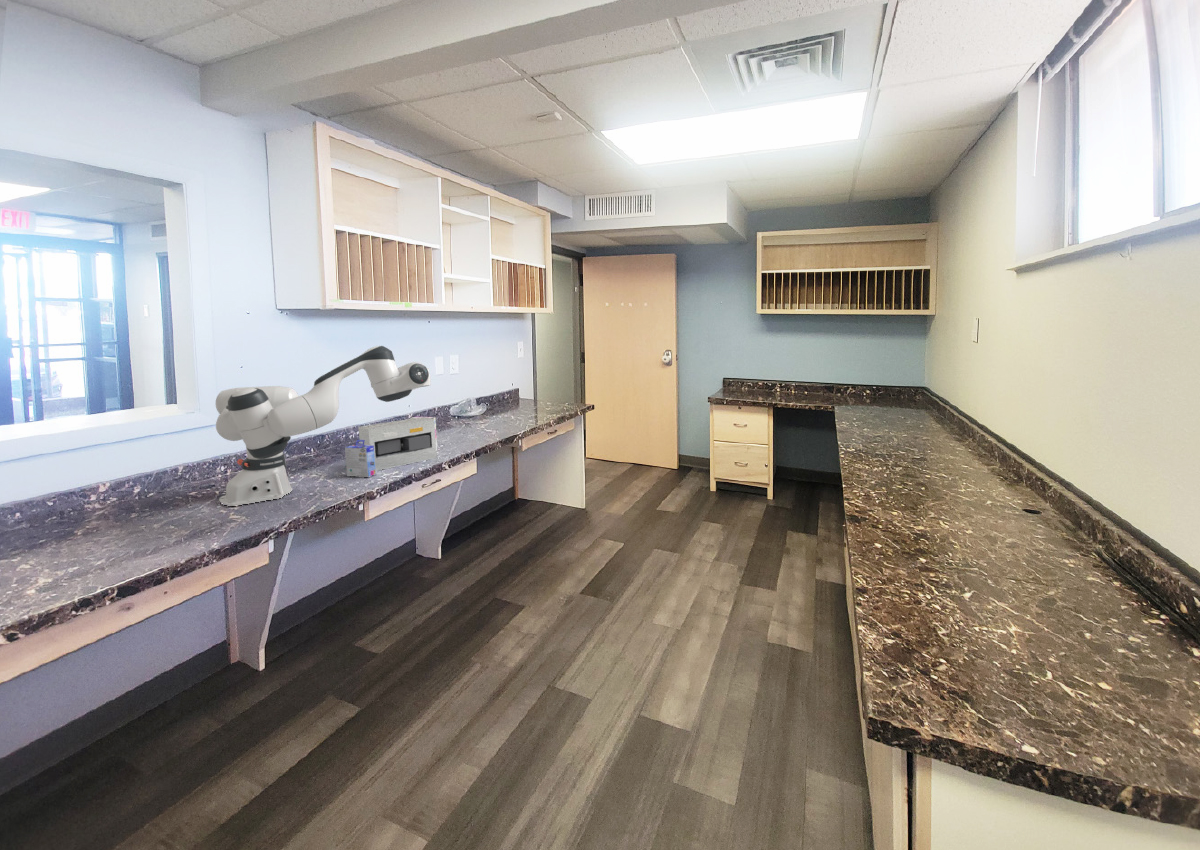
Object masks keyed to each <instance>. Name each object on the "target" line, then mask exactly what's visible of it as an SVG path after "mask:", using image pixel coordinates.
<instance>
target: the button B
mask: <svg viewBox="0 0 1200 850" xmlns="http://www.w3.org/2000/svg"><path fill="white" fill-rule="evenodd" d="M426 447H430V436H429V435H425V434H421V435H415V436H410V437H404V438H403V449H405V450H408V451H411V450H416V449H421V448H426Z"/></svg>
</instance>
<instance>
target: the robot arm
mask: <svg viewBox="0 0 1200 850" xmlns="http://www.w3.org/2000/svg"><path fill="white" fill-rule="evenodd" d="M361 370H364V371H365V372H366V375H367V378H368V380H369V383H370V387H371V388H372V390H373V392H374V395H375V397H376V399H378V401H379V400H380V401H382V402H385V403H388V402H393V401H394V402H395V401H396V400H401V399H403V398H406V397H408V396H410V394H411V392H412V391H413V390H416V389H419V388H422V387H428V386H431V374H430V370H429V368H428V367H427V366H426V365H425V364H423V363H422V362H416V361H415V362H414V361H413V362H410V363H406V364H404V365H402V366H400V367H397V363H396V360H395V357H394V354H393V351H392V350H390V348H388V347H386V346H384V345H376V346H373V347H370V348H368V349H367V350H365V351H364V352H363V353H361V354H360V355H359V356H356V357H354V358H353V359H350V360H349V361H346V362H344V363H343V364H341V365H339V366H337V367H335V368H333V369H332V370H330V371H328V372H327V373H325V374H322V375H321V376H319V377H318V378H317V379H316V380H315V381H314V382H313V383H314V384H313V386H312V388H311V389H310V390H309V391H308V392H306V393H304V394H302V395H299V394H298V393H297V391H296V390H295V389H294V388H292V387H288V386H280V385H275V386H274V385H272V386H271V385H270V386H249V387H248V386H247V387H246V386H245V387H234V388H233V387H232V388H229V389H224V390H221V391H220V392H219V393H218V394H217V396H216V398H215V408H216V411H217V412H218V414H219V415H218V417H217V419H216V421H215V422H216V423H215V429H216V432H217V434H218V435H219V436H220V437H222V438H223V439H225V440H226V441H232V442H237V441H243V443H244V444H245V450H246V455H247V457H246V458H245V459H242V458H239V459H238V460H237V461H236V463H237V464H238V465H239V466H241V468H242V469H241V470H240V471H239V472H238V473H237V474H235V476H233V477H232V478H231V479H230V480H229V481H228V482H227V483H226V487H225V495H222V496H220V497H219V499H218V501H220V502H221V503H223V504H225V505H230V506H235V505H242V504H248V505H250V504H249V503H254V504H256V503H255V502H259V503H261V502H260V501H265V502H267V501H266V500H271V501H274V500H273V499H277V500H280V499H279V498H281V499H283V498H284V497H285V496H287V495H289V494H291V493H292V492H293V491H292V490H293V488H292V486H291V484H290V481H289V477H288V474H287V471H286V469H287V461H286V456H285V455H286V454H285V453H284V451H285V449H286V448H287V447H288V442H289V441H291V439H292V437H293V436H298V435H301V434H305V433H309V432H312V431H316V430H317V429H320V428H322V427H325V426H327V425H329V424H331V423H332V422H333V421H334V420H335V419H336V417H337V414H338V412H339V407H340V406H339V405H340V403H339V402H340V400H339V399H340V398H339V397H340V396H339V394H340V393H339V390H340V384H341V382H342V381H343V380H344V379H345V378H347V377H349V376H351V375H352V374H354V373H356V372H358V371H361ZM291 491H292V492H291ZM290 492H291V493H290ZM288 493H289V494H288ZM286 494H287V495H286ZM284 495H285V496H284ZM283 496H284V497H283ZM282 497H283V498H282ZM220 502H219V503H220ZM242 506H243V505H242Z"/></svg>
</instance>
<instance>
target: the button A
mask: <svg viewBox="0 0 1200 850" xmlns="http://www.w3.org/2000/svg"><path fill="white" fill-rule="evenodd" d="M374 443H375V454H378V455H380V454H385V453H390V452H395V451H401V444H400V439H398V438H394V439H388V440H383V441H377V442H374Z"/></svg>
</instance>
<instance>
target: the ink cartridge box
mask: <svg viewBox="0 0 1200 850" xmlns="http://www.w3.org/2000/svg"><path fill="white" fill-rule="evenodd" d="M360 441H361V442H363V443H362V444H361V443H360ZM364 443H365V440H360V439H356V441H355V444H351V445H349V446H345V447H344V451H345V453H344V454H345V464H346V465H345V466H346V477H347V476H359V477H358V478H364V477H369V476H371V477H373V476H372V475H374V474H376V475H377V472H376V469H375V457H374V446H372V445H364ZM374 476H375V475H374ZM369 478H370V477H369Z"/></svg>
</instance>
